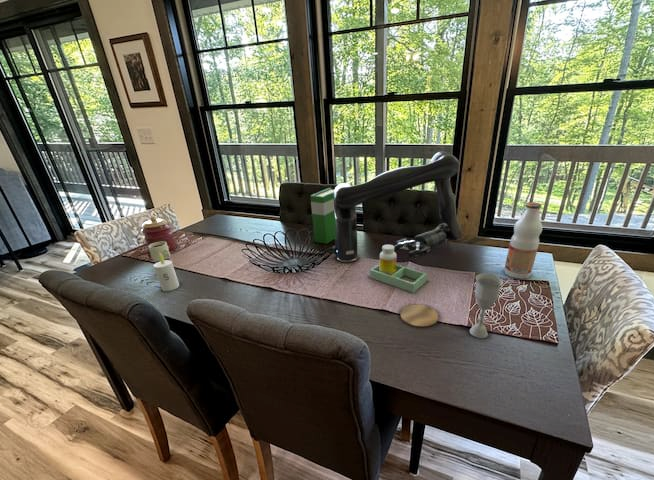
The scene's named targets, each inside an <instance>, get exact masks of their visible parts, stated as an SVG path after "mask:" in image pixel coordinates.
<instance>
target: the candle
mask: <svg viewBox="0 0 654 480" xmlns="http://www.w3.org/2000/svg"><path fill="white" fill-rule="evenodd" d="M159 256H160V262H157V263H156V262H155V263H154V264H153V268H154V271H155V273H156V276H157V279H158V282H159V284H160V285H159V286H160V287H161V290H162V291H163V292H170V291H174V290H176V289H178V288H179V287H180V282H179V279H178V277H177V274H176V270H175V268H174V267H175V266H174V264H173V261H172V260H171V259H170V260H164V258H163V256H162V254H161V253H160V252H159Z"/></svg>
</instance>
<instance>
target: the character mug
mask: <svg viewBox="0 0 654 480" xmlns="http://www.w3.org/2000/svg"><path fill="white" fill-rule="evenodd" d="M148 248H149V250H148V252H149V251H150V252H149V254H150V256H151V260H153V261H154V262H155V263H157V262H160V256H159V252H160V253H161V254H162V256H163V258H164V260H170V261H171V259H170V257H171V251H170V252H169V249H168V246H167V243H166V242H156V243H152V244H150V245H149V246H147V249H148Z"/></svg>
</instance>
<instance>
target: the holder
mask: <svg viewBox="0 0 654 480" xmlns="http://www.w3.org/2000/svg"><path fill="white" fill-rule="evenodd" d="M403 277H408V278H410V279H414V281H413V282H412V281H408V280H405V279H402V278H403ZM369 278H371V279H373V280H377V281H379V282H381V283H384V284H388V285H391V286H393V287H396V288H399V289H402V290H405V291H407V292H410V293H415V292H416V291H417V290H418V289H419V288H421V287H422V286H423V285H424V284H426V282H427V278H428V273H426V272H423V271H420V270H417V269H413V268H409V267H407V266H403V265H400V264H397V263H396V273H394V274H393V275H391V276H390V275H387V274H384V273H381V272H379V263H378V264H376V265H375V266H373V267H372V268H370V269H369Z"/></svg>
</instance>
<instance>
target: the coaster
mask: <svg viewBox="0 0 654 480" xmlns="http://www.w3.org/2000/svg"><path fill="white" fill-rule="evenodd" d="M399 314H400V318H401V321H403V322H404V323H405V324H407V325H410V326H412V327H416V328H426V327H431V326H434V325H436V324H437V323H438V320H439V313H438V312H437V311H436V310H435V309H434V308H432V307H430V306H428V305H425V304H415V303H414V304H409V305H406V306H404V307H402V309H401V310H400V313H399Z"/></svg>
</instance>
